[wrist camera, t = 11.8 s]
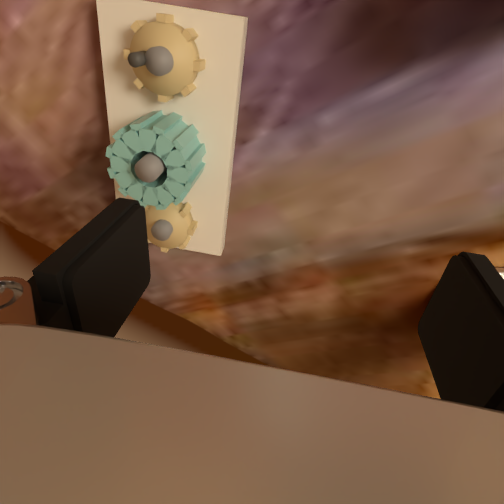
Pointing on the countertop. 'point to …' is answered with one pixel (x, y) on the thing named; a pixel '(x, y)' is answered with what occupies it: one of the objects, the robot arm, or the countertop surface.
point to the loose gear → (167, 148)
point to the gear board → (177, 103)
